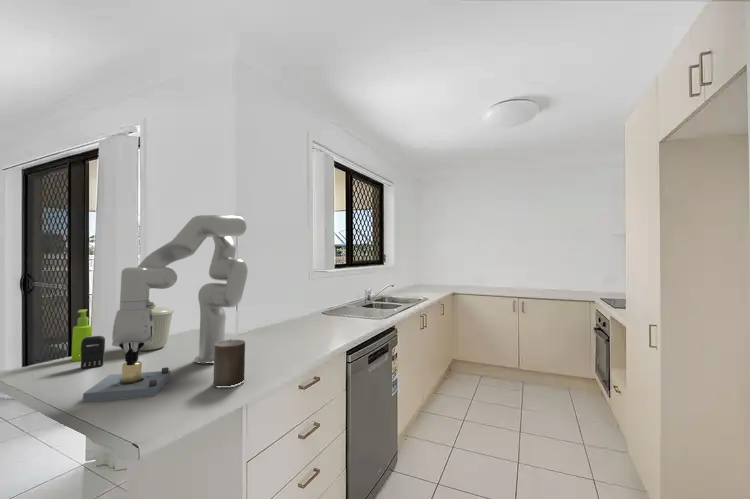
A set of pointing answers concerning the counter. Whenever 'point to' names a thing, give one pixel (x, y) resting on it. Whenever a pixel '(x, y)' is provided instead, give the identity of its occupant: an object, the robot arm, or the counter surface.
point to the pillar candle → (229, 362)
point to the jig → (127, 387)
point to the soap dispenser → (80, 334)
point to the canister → (159, 328)
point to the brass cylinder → (131, 373)
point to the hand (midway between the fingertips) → (131, 363)
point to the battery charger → (92, 351)
